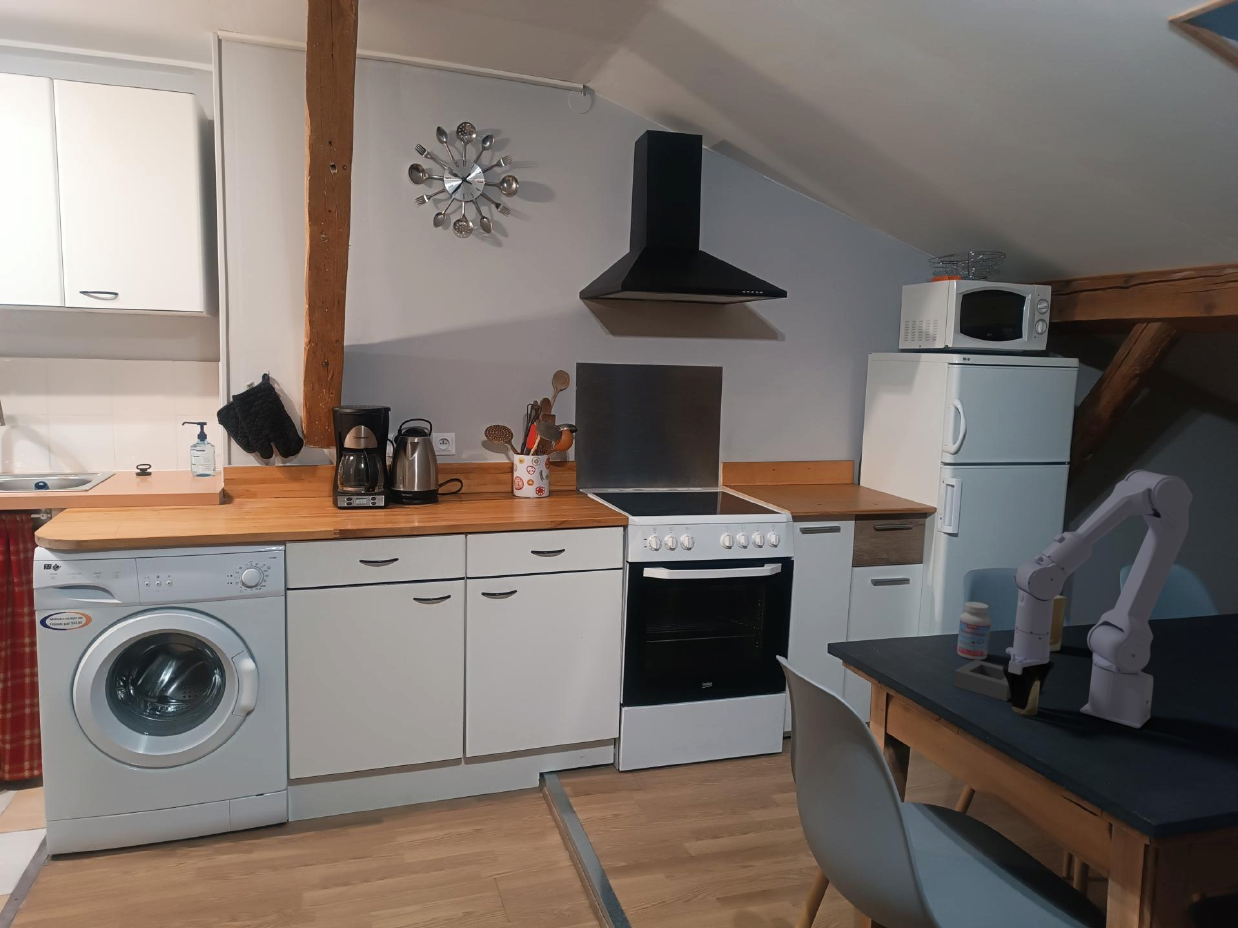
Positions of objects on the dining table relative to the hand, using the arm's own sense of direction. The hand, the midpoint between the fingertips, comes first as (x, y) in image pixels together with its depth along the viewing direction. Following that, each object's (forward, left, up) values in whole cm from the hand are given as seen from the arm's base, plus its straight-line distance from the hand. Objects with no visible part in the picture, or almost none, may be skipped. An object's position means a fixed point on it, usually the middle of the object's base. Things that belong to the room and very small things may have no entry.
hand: (1025, 703), depth 156 cm
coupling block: (+9, -7, -1) cm, 11 cm away
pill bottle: (+19, -23, -2) cm, 30 cm away
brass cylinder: (0, 0, -1) cm, 1 cm away
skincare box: (+11, -42, -2) cm, 43 cm away
